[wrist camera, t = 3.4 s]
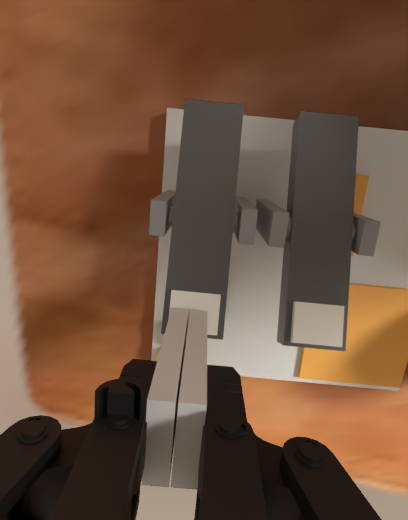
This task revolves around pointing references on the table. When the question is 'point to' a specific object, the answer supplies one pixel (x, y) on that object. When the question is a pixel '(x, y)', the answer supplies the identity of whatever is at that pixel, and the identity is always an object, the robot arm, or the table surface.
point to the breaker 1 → (204, 212)
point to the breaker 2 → (319, 232)
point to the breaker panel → (271, 259)
